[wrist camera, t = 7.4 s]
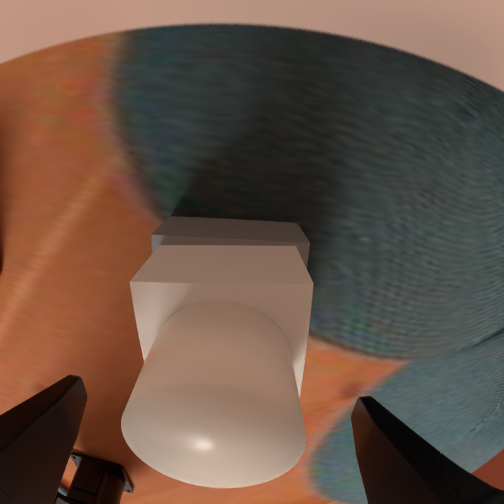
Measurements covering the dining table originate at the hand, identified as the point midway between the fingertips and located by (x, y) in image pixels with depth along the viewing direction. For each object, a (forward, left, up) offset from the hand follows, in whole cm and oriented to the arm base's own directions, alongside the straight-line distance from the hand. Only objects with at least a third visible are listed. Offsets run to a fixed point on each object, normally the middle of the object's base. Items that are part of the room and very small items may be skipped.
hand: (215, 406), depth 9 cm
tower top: (0, 0, -6) cm, 6 cm away
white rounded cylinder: (0, 0, -2) cm, 2 cm away
